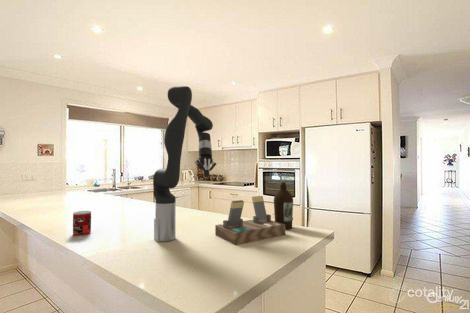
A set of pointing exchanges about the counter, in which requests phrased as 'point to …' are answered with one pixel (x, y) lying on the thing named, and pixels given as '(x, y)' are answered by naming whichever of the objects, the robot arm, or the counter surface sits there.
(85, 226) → the canned food
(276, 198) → the olive oil
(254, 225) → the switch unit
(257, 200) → the far lever
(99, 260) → the counter surface
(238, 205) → the near lever
